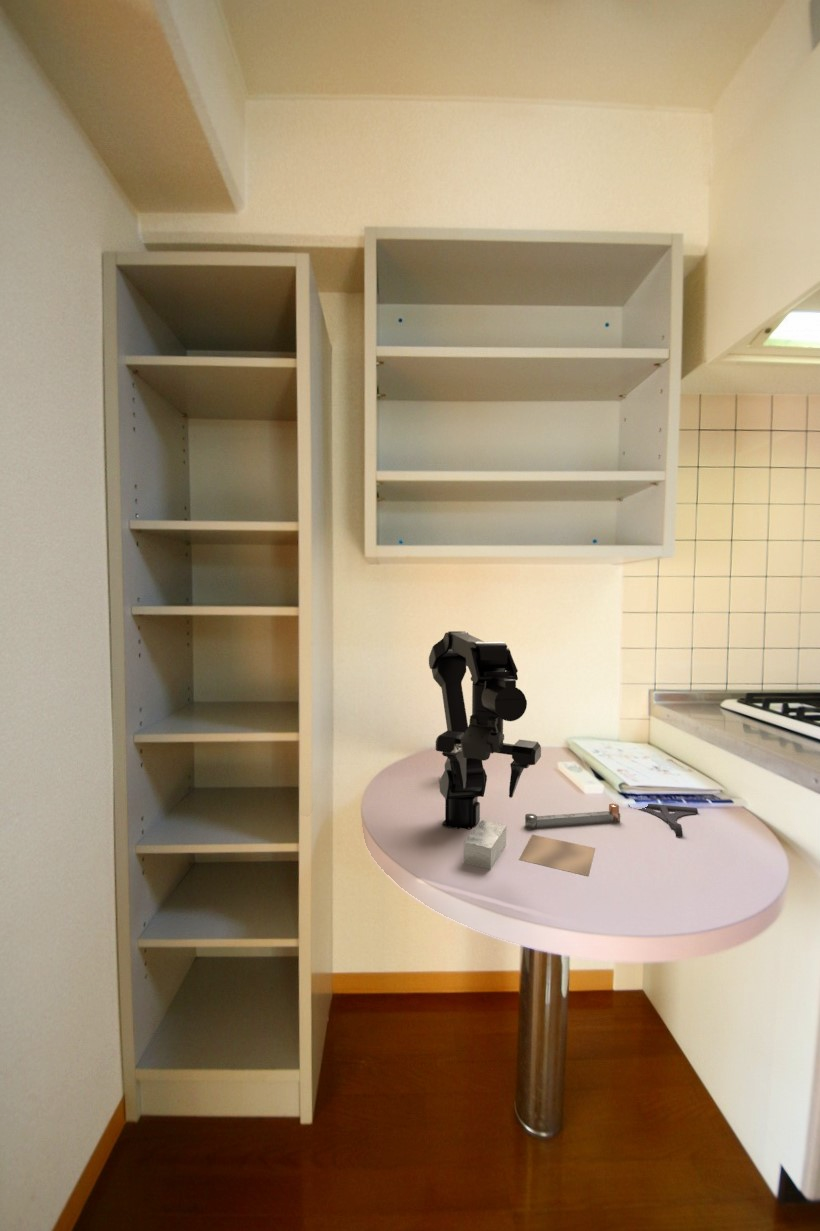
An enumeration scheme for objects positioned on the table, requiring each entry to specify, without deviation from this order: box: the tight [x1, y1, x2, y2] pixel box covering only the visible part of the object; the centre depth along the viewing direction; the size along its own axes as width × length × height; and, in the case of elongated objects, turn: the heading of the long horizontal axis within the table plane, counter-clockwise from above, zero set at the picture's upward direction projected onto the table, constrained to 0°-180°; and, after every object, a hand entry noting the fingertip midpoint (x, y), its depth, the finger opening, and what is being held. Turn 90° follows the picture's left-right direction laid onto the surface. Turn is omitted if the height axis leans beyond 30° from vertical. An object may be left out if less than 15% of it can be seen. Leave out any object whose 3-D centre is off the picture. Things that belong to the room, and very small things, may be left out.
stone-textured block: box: [463, 820, 507, 870], centre depth 91 cm, size 5×10×4 cm, turn 153°
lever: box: [524, 803, 621, 830], centre depth 104 cm, size 21×2×4 cm, turn 100°
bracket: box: [638, 803, 699, 838], centre depth 107 cm, size 14×15×3 cm
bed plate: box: [518, 834, 596, 877], centre depth 91 cm, size 12×11×1 cm
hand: (486, 792), depth 91 cm, fingers open, 9 cm apart
